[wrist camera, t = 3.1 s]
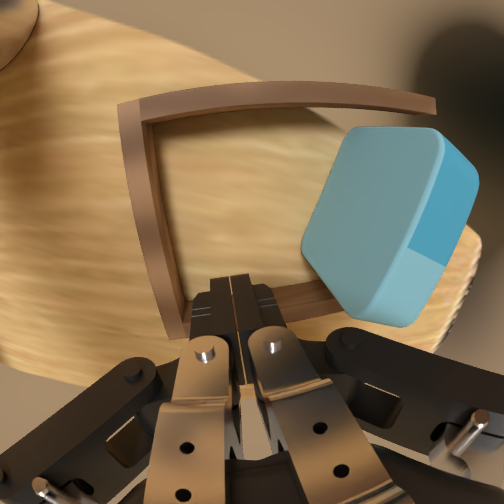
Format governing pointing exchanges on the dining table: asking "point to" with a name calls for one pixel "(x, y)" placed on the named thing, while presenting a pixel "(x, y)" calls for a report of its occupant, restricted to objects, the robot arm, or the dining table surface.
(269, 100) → the walnut frame
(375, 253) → the data package
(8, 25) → the robot arm
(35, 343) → the dining table surface
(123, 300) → the dining table surface
